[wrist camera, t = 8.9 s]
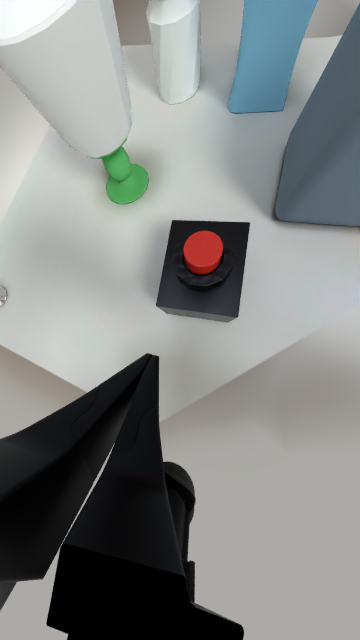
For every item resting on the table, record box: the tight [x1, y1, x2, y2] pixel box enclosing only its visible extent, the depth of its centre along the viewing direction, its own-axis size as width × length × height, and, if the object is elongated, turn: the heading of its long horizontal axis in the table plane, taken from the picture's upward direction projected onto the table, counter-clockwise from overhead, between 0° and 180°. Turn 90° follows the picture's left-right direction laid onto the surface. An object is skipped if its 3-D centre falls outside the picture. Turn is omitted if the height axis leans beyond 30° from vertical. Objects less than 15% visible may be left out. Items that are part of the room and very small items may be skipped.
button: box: [184, 231, 223, 274], centre depth 15 cm, size 4×4×2 cm
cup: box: [0, 0, 148, 204], centre depth 19 cm, size 14×14×16 cm
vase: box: [146, 0, 200, 104], centre depth 22 cm, size 9×9×12 cm
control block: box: [156, 220, 250, 322], centre depth 19 cm, size 12×10×8 cm
